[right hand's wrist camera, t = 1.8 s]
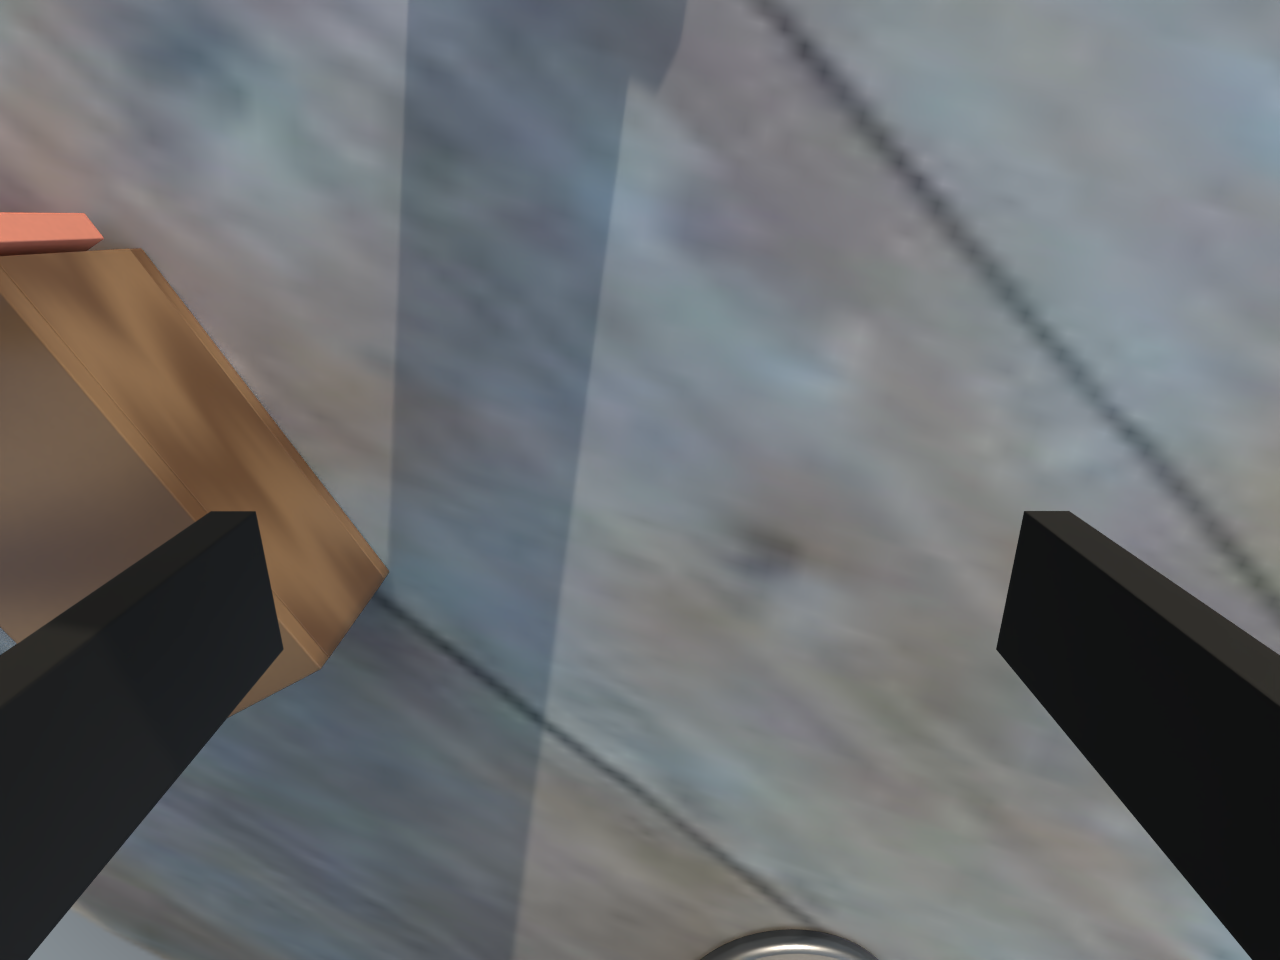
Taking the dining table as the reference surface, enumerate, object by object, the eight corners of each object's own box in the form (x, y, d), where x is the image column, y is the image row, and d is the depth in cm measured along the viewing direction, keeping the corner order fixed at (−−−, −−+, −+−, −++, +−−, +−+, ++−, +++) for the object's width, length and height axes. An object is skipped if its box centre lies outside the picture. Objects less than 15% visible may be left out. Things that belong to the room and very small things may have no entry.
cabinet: (-19, 357, 34) (-229, 402, 25) (142, 247, 32) (-29, 257, 24) (242, 651, 39) (138, 765, 31) (390, 571, 37) (321, 669, 29)
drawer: (-159, 206, 30) (-372, 202, 24) (-11, 91, 29) (-196, 54, 23) (202, 612, 37) (111, 694, 31) (337, 536, 36) (271, 606, 29)
